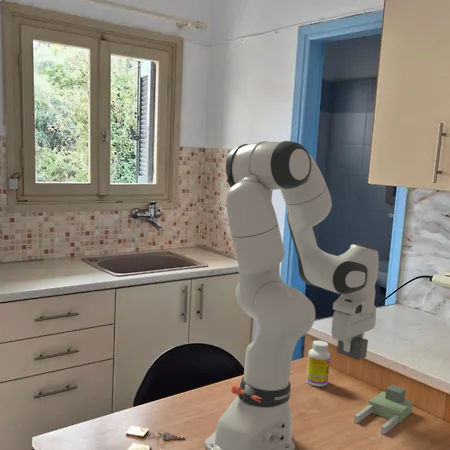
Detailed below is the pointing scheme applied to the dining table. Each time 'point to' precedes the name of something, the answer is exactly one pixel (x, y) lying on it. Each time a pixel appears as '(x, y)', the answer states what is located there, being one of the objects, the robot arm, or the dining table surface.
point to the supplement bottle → (318, 364)
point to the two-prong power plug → (388, 407)
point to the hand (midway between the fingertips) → (351, 349)
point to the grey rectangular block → (354, 348)
